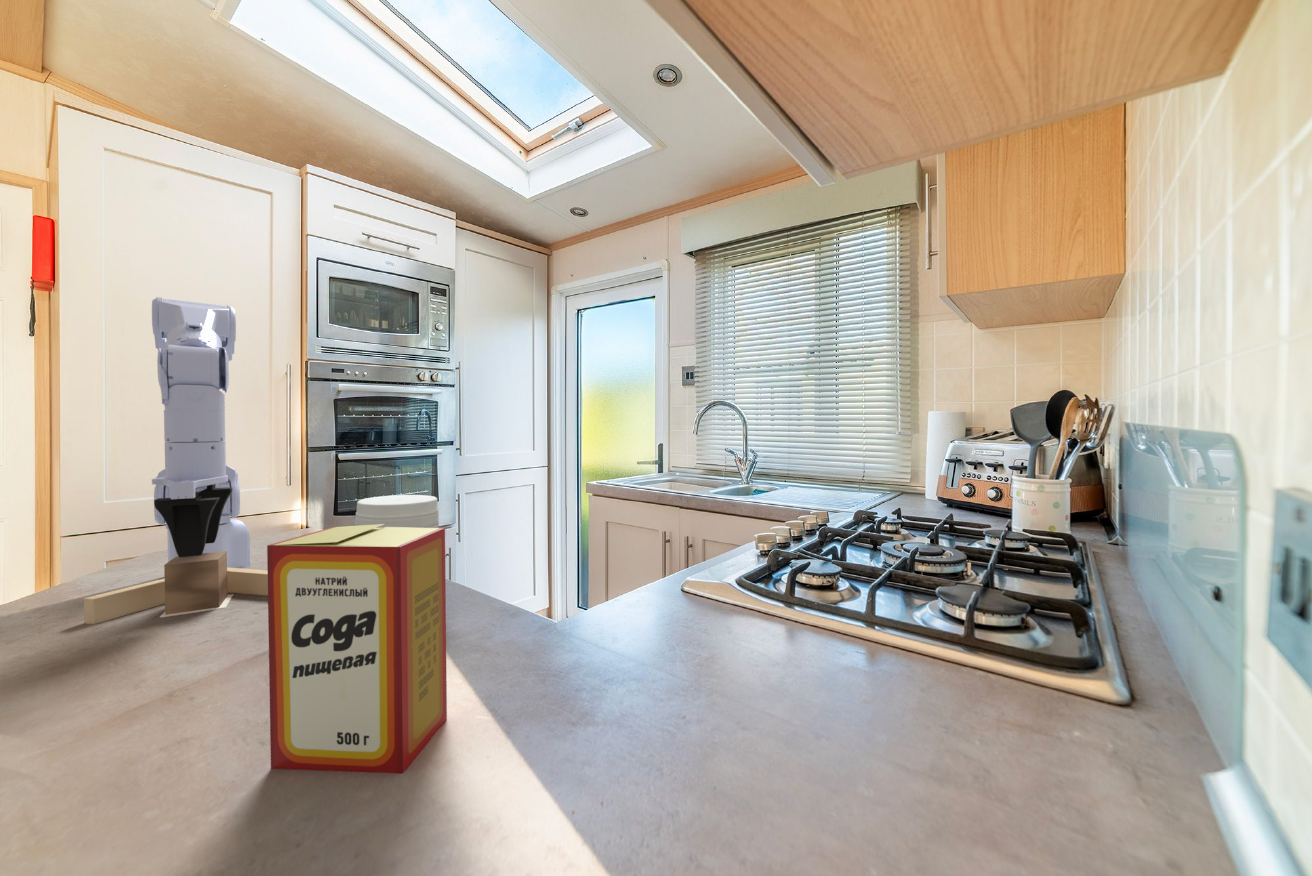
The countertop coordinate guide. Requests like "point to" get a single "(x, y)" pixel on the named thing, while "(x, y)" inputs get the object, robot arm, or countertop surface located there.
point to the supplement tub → (398, 511)
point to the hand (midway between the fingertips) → (197, 549)
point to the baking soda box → (356, 647)
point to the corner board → (154, 595)
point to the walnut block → (195, 582)
